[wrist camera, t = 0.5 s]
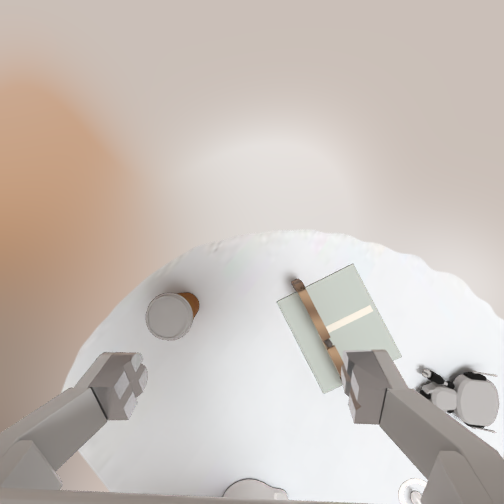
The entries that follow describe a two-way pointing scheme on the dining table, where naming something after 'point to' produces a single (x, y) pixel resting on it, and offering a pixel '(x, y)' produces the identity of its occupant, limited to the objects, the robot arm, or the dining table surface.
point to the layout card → (337, 323)
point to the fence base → (334, 355)
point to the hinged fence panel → (311, 309)
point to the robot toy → (464, 397)
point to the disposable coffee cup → (171, 315)
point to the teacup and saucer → (414, 495)
